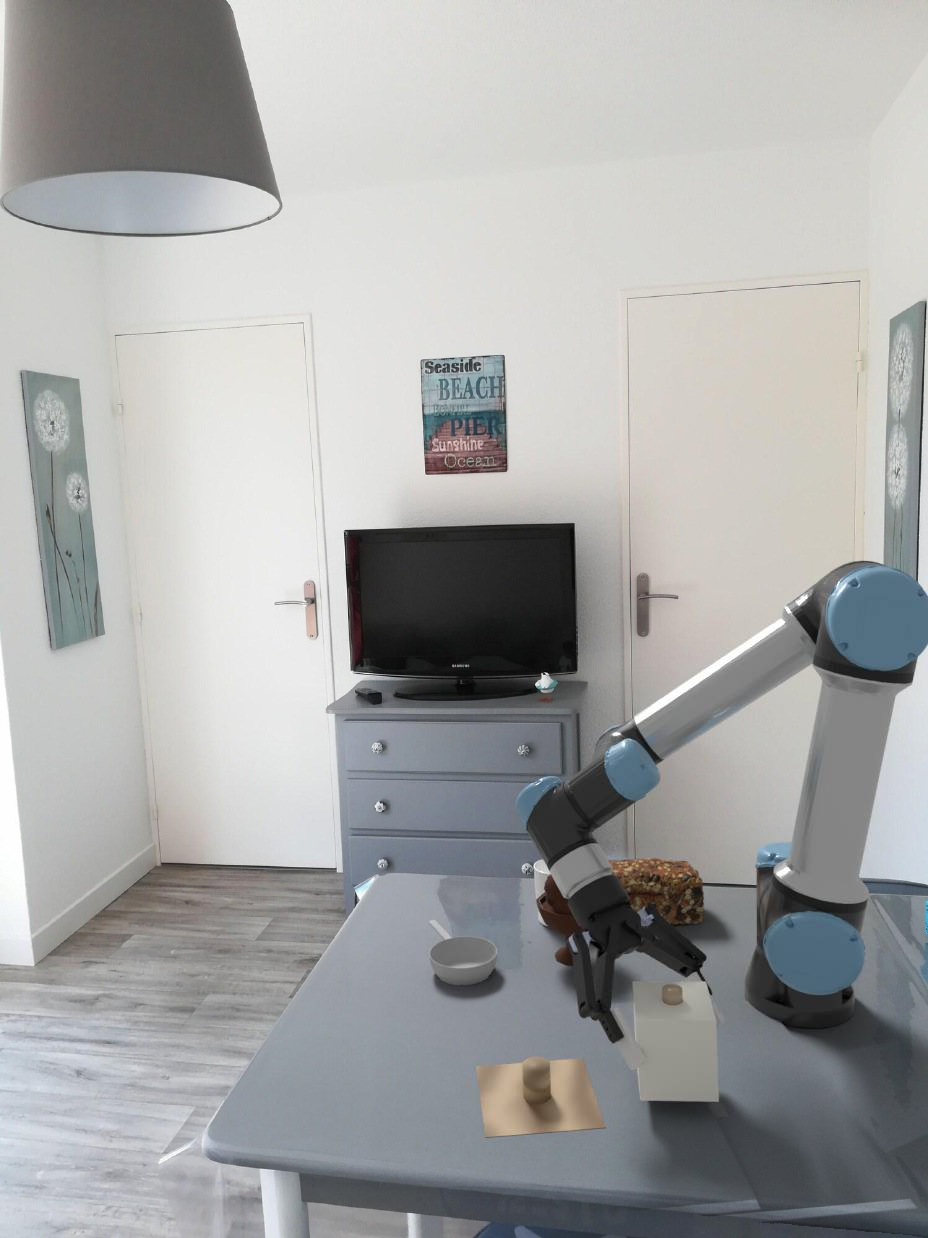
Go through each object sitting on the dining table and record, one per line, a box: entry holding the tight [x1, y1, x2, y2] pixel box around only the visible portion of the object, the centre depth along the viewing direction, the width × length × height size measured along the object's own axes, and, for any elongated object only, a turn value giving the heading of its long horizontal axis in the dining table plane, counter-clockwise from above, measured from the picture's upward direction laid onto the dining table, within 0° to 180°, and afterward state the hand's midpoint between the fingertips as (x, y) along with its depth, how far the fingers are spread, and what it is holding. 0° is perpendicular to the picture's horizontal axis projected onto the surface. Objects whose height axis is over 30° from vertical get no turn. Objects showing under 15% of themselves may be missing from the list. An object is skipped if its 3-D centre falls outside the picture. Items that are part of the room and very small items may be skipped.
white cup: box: [532, 858, 551, 928], centre depth 168 cm, size 8×8×10 cm
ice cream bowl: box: [535, 874, 584, 966], centre depth 154 cm, size 11×11×15 cm
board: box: [475, 1057, 607, 1139], centre depth 117 cm, size 14×14×1 cm
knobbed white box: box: [632, 980, 720, 1103], centre depth 115 cm, size 9×9×11 cm
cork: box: [521, 1056, 551, 1104], centre depth 117 cm, size 3×3×4 cm
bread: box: [608, 857, 705, 928], centre depth 168 cm, size 19×11×10 cm, turn 90°
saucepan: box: [428, 919, 498, 986], centre depth 154 cm, size 11×18×4 cm, turn 25°
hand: (679, 1045), depth 114 cm, fingers closed on knobbed white box, 13 cm apart
